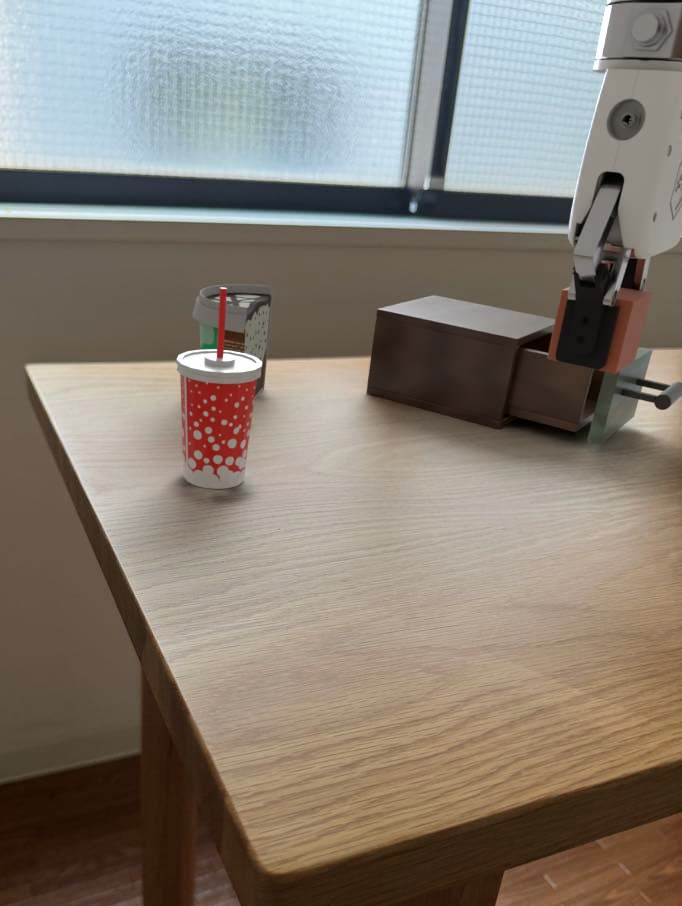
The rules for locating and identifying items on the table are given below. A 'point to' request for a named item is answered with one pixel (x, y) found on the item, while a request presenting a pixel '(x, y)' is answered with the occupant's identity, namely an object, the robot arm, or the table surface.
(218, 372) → the beverage cup
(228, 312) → the food container
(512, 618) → the table surface
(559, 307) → the block
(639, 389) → the drawer
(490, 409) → the cabinet
